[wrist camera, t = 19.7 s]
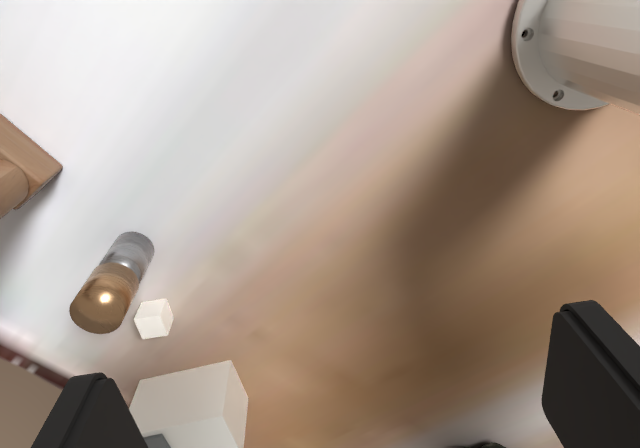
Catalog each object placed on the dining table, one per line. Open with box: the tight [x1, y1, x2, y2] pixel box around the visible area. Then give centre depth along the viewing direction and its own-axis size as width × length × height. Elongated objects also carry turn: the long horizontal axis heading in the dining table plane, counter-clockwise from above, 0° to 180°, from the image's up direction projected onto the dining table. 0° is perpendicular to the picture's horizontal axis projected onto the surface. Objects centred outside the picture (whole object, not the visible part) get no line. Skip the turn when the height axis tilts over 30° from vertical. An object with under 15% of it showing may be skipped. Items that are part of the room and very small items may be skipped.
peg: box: [69, 232, 154, 334], centre depth 36 cm, size 4×4×9 cm
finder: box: [129, 360, 249, 448], centre depth 46 cm, size 10×6×7 cm, turn 103°
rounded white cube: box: [134, 298, 174, 339], centre depth 42 cm, size 2×2×2 cm
